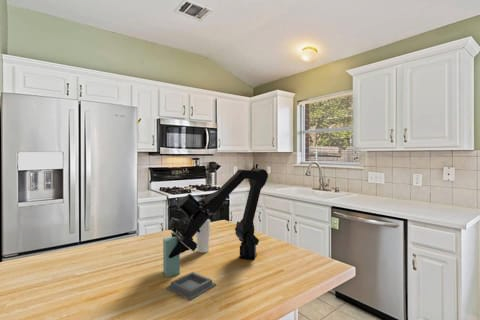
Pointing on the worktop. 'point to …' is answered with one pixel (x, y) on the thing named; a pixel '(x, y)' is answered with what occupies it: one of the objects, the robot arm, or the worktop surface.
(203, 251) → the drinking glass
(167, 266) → the teal block
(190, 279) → the socket holder
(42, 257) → the worktop surface
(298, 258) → the worktop surface
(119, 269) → the worktop surface
